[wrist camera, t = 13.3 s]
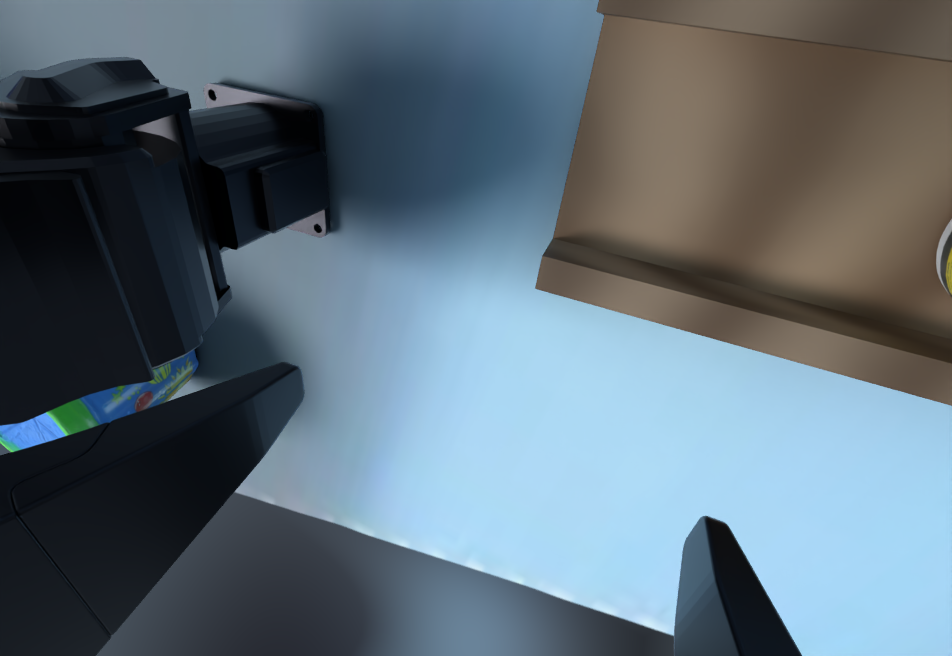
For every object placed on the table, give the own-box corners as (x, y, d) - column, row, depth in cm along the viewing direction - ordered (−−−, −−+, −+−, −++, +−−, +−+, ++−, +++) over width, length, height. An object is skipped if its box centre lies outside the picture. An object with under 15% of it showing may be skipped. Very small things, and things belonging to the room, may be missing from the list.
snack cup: (260, 361, 33) (125, 466, 25) (231, 429, 39) (116, 530, 31) (80, 222, 32) (-121, 284, 24) (80, 315, 38) (-78, 389, 30)
